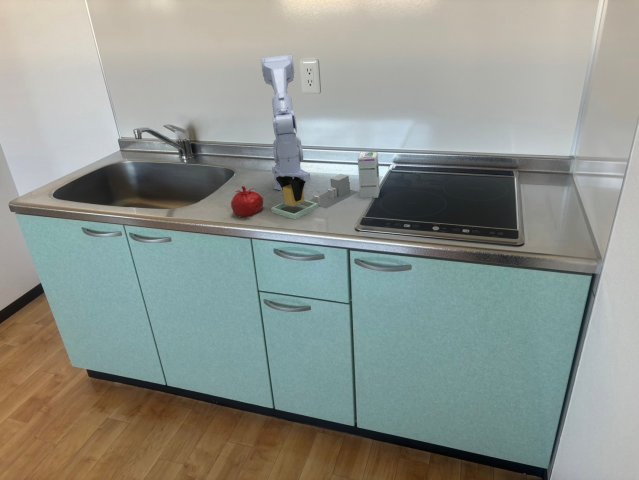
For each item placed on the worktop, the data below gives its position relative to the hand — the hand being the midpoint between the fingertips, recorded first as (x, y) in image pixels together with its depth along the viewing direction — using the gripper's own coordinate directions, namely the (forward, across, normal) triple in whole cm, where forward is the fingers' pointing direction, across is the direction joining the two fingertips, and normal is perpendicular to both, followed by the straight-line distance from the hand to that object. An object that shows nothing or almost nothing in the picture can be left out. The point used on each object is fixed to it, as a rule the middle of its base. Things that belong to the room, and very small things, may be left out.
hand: (293, 199), depth 149 cm
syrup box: (+5, +12, +22) cm, 26 cm away
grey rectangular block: (+4, +3, +18) cm, 19 cm away
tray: (+5, 0, 0) cm, 5 cm away
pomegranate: (+5, -13, -8) cm, 16 cm away
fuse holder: (+5, +3, +14) cm, 15 cm away
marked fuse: (+1, 0, 0) cm, 1 cm away
